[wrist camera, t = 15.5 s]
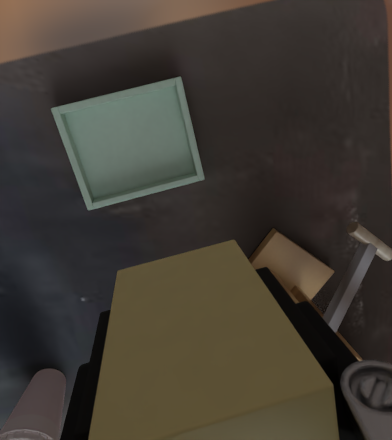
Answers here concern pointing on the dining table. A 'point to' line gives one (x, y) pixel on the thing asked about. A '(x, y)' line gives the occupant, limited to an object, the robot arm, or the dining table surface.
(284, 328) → the butter
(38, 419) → the smoothie
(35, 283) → the dining table surface
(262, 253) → the slicer
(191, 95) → the dining table surface
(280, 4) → the dining table surface
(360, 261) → the lever
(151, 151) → the butter dish
